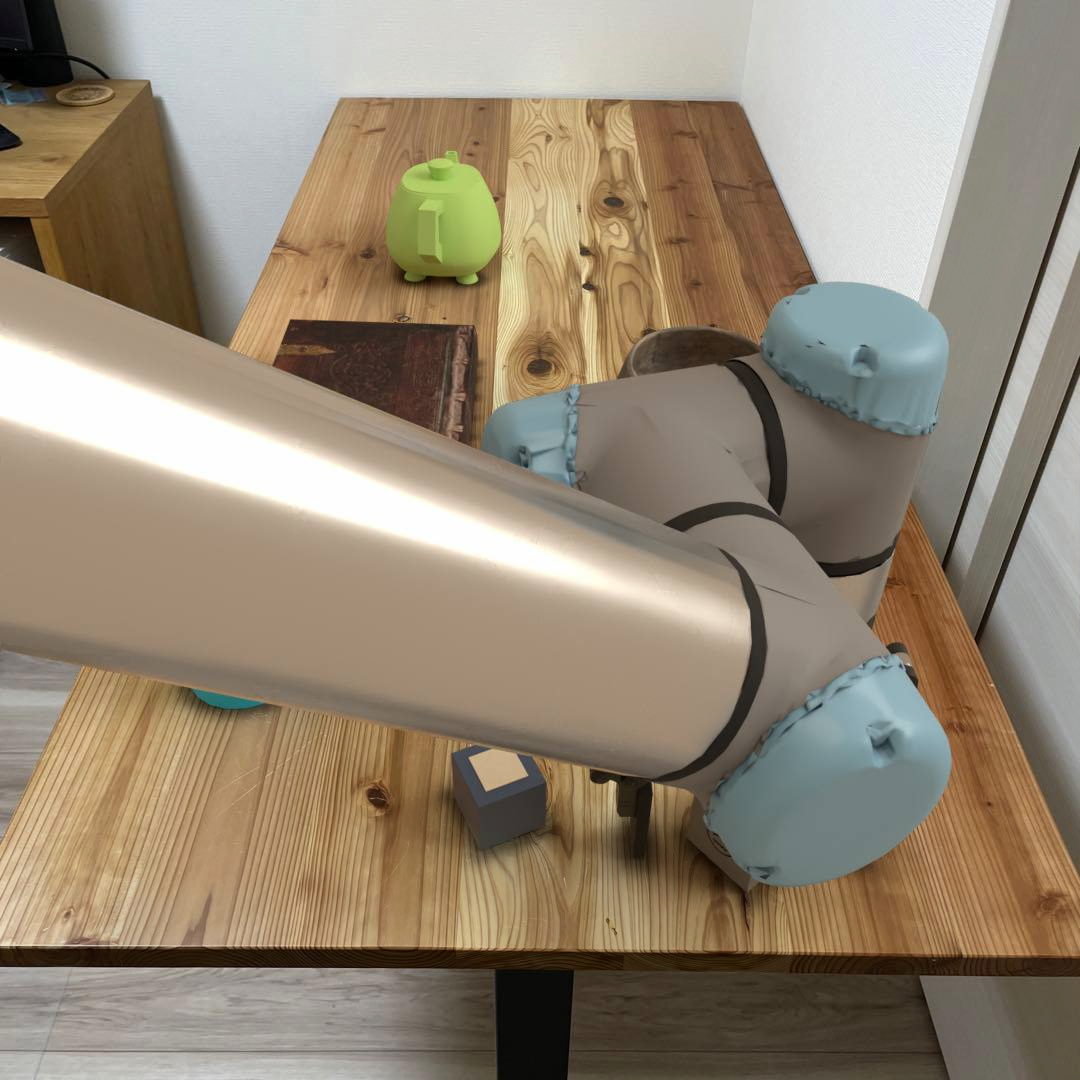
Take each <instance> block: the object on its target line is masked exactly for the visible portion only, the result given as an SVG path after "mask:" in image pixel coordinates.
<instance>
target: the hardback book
mask: <svg viewBox="0 0 1080 1080" xmlns="http://www.w3.org/2000/svg"><path fill="white" fill-rule="evenodd" d="M478 362H479V336H478V332H477V329H476V326H475V324H453V323H452V324H451V323H449V324H448V323H424V322H423V323H420V322H419V323H418V322H417V323H416V322H392V321H391V322H388V321H363V320H362V321H361V320H359V321H357V320H331V319H330V320H325V319H299V318H298V319H297V318H296V319H295V318H290V319H289V320H288V324H287V326H286V328H285V331H284V334H283V336H282V339H281V342H280V345H279V348H278V350H277V352H276V355H275V358H274V360H273V364H272V366H273V367H276V368H278V369H281V370H283V371H286V372H288V373H290V374H293V375H295V376H298V377H300V378H303V379H305V380H308V381H310V382H313V383H315V384H318V385H320V386H323V387H325V388H327V389H330V390H332V391H335V392H337V393H340V394H342V395H345V396H347V397H350V398H352V399H355V400H357V401H359V402H362V403H364V404H367V405H369V406H372V407H374V408H377V409H379V410H382V411H384V412H387V413H389V414H392V415H394V416H396V417H399V418H401V419H404V420H406V421H409V422H411V423H414V424H416V425H419V426H421V427H424V428H426V429H428V430H431V431H433V432H436V433H438V434H441V435H443V436H446V437H448V438H451V439H453V440H456V441H458V442H461V443H463V444H465V445H468V446H471V445H470V444H471V433H472V425H473V414H474V403H475V393H476V384H477V374H478V373H477V372H478Z"/></svg>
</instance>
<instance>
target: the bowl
mask: <svg viewBox="0 0 1080 1080" xmlns="http://www.w3.org/2000/svg"><path fill="white" fill-rule="evenodd" d="M760 344H761V343H758V342H757V341H756V340H754V339H752V338H751V337H748V336H746V335H745V334H741V333H739V332H735V331H732V330H728V329H724V328H718V327H713V326H696V325H682V326H681V325H680V326H673V327H667V328H663V329H659V330H655V331H652V332H650V333H648V334H646V335H644V336H643V337H641V338H640V339H638V340H637V341H636V342H635V343H634V344H633V345H632V347H631V349H630V350H629V352H628V354H627V356H626V358H625V359H624V361H623V364H622V366H621V368H620V370H619V373H618V375H617V377H616V379H622V378H629V377H635V376H641V375H648V374H654V373H660V372H667V371H673V370H679V369H686V368H692V367H698V366H705V365H711V364H719V363H723V362H724V361H726V360H728V359H732V358H738V357H744V356H750V355H753V354H757V353H760V350H761V348H759V346H760Z"/></svg>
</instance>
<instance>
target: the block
mask: <svg viewBox="0 0 1080 1080" xmlns="http://www.w3.org/2000/svg"><path fill="white" fill-rule="evenodd" d="M450 757H451V759H450V760H451V770H452V771H451V772H452V774H451V775H452V788H453V789H452V790H453V799H454V800H455V802H456V804H457V806H458V808H459V811H460V813H461V815H462V817H463V819H464V821H465V823H466V825H467V827H468V829H469V831H470V834H471V835H472V837H473V839H474V842H475V843H476V845H477V847H478V849H479V851H480V852H481V851H485V850H487V849H489V848H492V847H494V846H498V845H500V844H503V843H505V842H507V841H511V840H513V839H515V838H518V837H520V836H523V835H525V834H528V833H531V832H533V831H536V830H539V829H541V828H544V827H545V826H546V825H547V822H546V821H547V787H548V785H547V784H548V783H547V781H546V778H545V777H544V775H543V773H542V771H541V769H540V768H539V766H538V765H537V763H536V761H535V759H534V757H530V756H525V755H521V754H516V753H511V752H506V751H501V750H496V749H491V748H486V747H481V746H476V745H470V746H468V747H465V748H461V749H458V750H456V751H453V752H451V753H450Z"/></svg>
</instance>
